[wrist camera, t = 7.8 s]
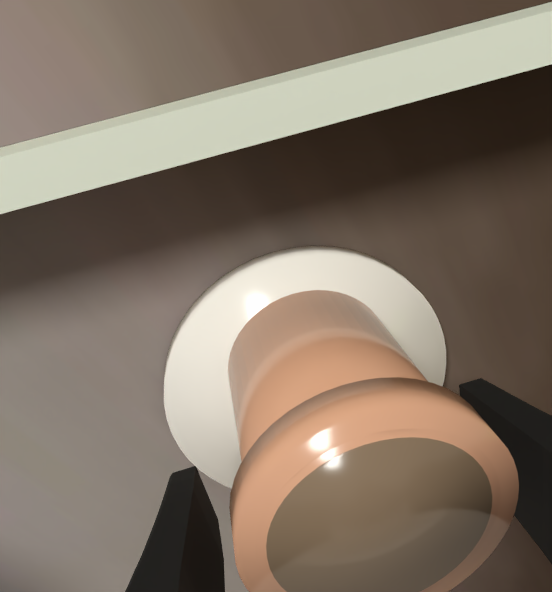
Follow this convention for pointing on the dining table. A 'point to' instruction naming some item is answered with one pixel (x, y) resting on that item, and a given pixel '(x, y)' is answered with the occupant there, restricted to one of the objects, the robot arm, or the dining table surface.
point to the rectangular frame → (273, 107)
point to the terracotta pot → (356, 459)
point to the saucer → (250, 300)
